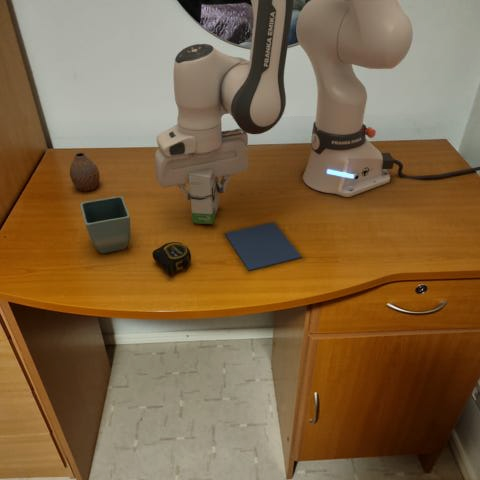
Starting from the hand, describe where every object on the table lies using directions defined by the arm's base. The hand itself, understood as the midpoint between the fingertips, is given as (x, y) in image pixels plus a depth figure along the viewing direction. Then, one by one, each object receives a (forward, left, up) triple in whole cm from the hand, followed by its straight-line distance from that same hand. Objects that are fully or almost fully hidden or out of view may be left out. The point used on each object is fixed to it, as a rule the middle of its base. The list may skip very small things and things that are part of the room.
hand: (204, 195), depth 108 cm
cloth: (-8, +15, -6) cm, 18 cm away
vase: (+23, -24, -6) cm, 34 cm away
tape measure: (+12, +15, -6) cm, 21 cm away
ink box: (0, 0, -5) cm, 5 cm away
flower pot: (+22, +3, -6) cm, 23 cm away
